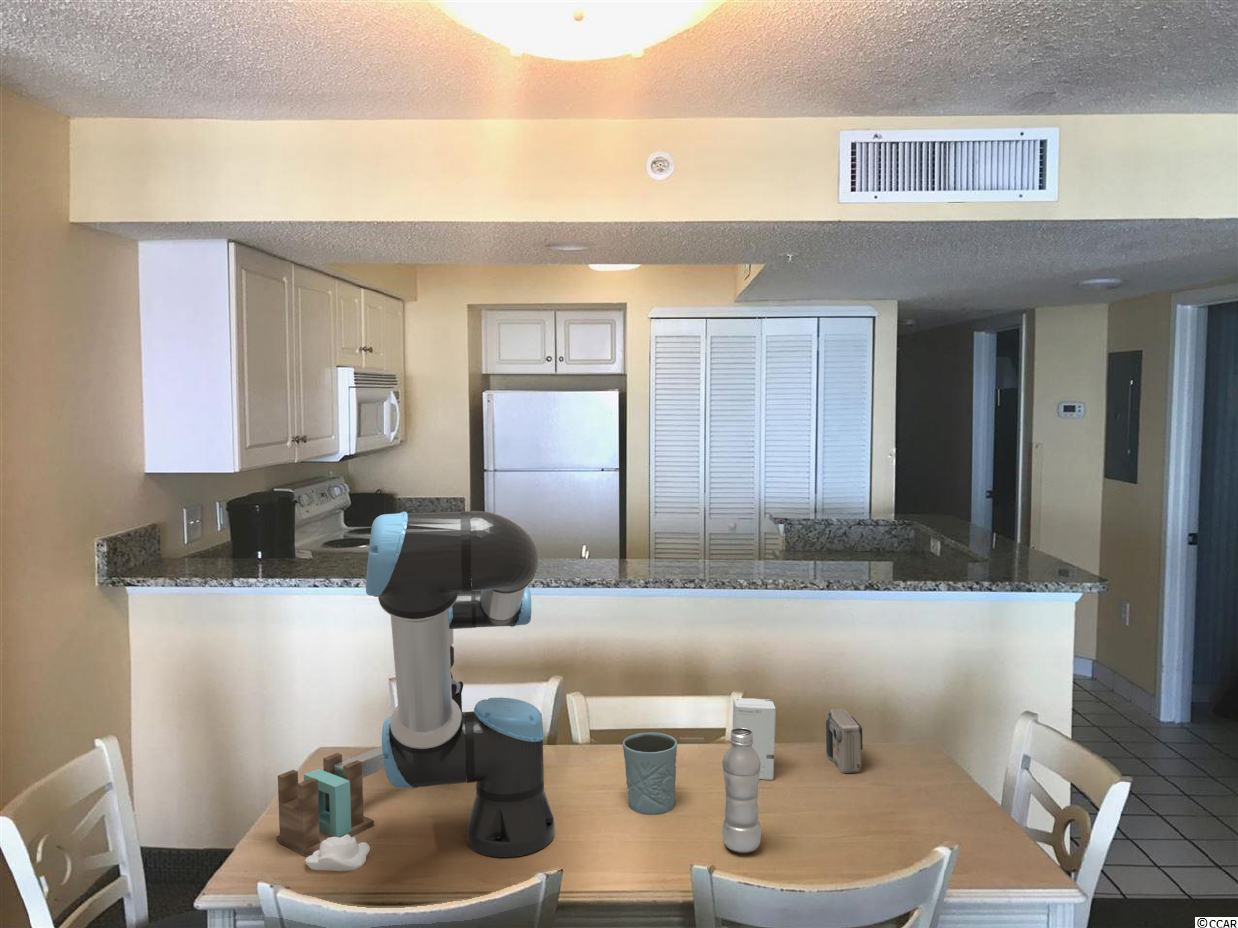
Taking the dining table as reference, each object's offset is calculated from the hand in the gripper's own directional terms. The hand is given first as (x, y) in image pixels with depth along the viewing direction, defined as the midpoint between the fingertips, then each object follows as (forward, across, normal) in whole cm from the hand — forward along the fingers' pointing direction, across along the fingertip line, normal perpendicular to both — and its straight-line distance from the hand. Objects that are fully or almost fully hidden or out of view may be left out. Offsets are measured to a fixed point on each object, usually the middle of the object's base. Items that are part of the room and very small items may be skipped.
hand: (436, 761), depth 172 cm
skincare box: (+4, -50, -40) cm, 64 cm away
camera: (+5, -63, -55) cm, 83 cm away
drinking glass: (+4, -40, -16) cm, 44 cm away
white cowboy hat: (+5, -9, +30) cm, 32 cm away
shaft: (-3, 0, +10) cm, 11 cm away
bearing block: (+4, 0, +26) cm, 27 cm away
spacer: (+3, 0, +25) cm, 26 cm away
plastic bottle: (+4, -62, -12) cm, 63 cm away
